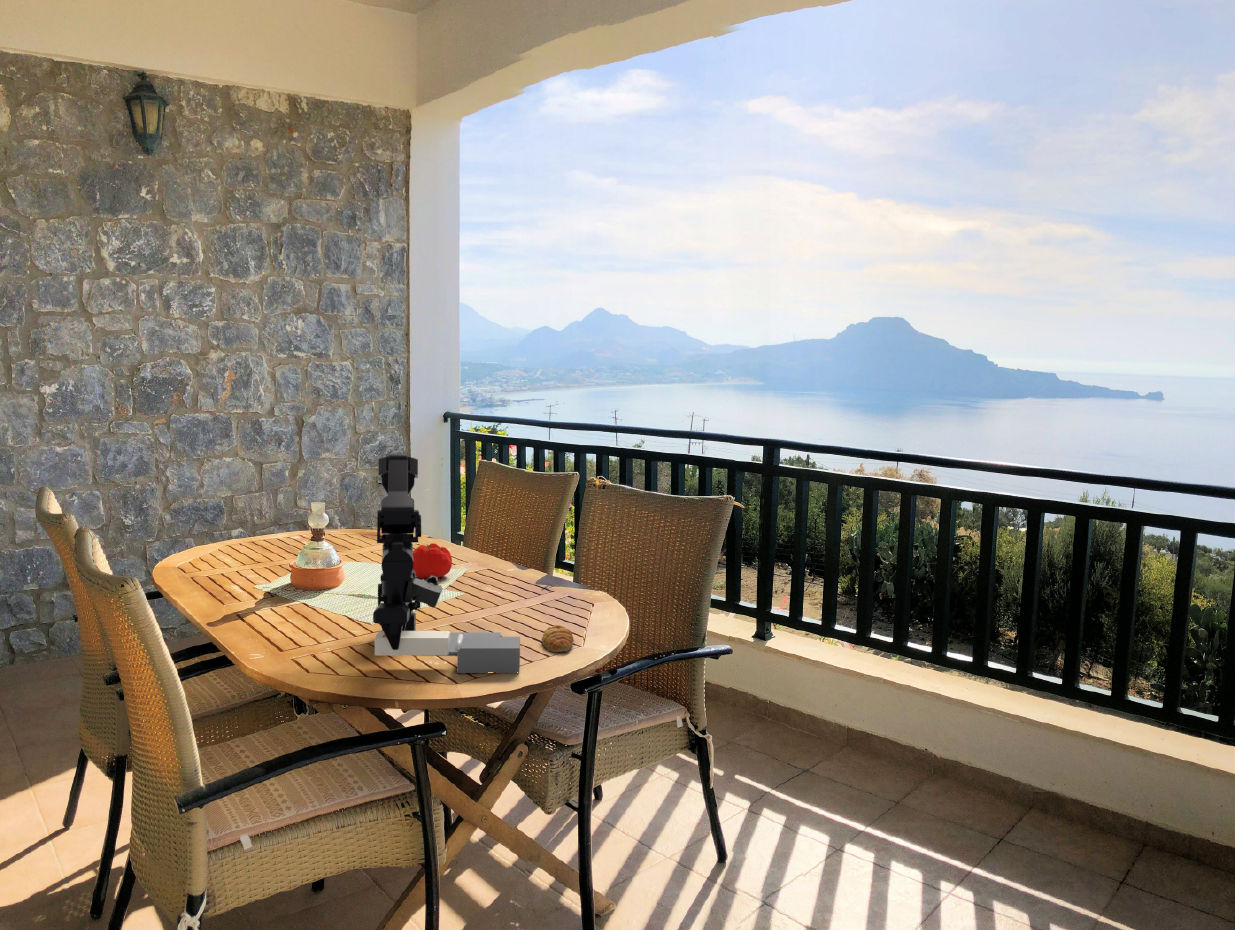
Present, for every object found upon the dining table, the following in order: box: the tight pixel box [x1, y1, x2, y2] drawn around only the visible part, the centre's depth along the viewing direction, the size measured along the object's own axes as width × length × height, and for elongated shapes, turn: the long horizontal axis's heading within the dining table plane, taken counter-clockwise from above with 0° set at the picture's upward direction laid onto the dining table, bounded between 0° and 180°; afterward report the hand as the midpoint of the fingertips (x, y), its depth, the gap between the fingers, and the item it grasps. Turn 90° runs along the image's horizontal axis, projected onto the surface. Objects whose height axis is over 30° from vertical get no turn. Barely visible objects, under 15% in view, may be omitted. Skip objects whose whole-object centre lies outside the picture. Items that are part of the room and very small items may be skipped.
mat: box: [447, 631, 502, 656], centre depth 184 cm, size 17×13×1 cm
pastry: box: [541, 624, 575, 653], centre depth 185 cm, size 9×7×4 cm
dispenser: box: [455, 634, 521, 674], centre depth 171 cm, size 12×8×6 cm, turn 96°
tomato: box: [413, 543, 453, 580], centre depth 241 cm, size 11×12×9 cm
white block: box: [374, 630, 451, 656], centre depth 169 cm, size 14×4×4 cm, turn 95°
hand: (397, 645), depth 169 cm, fingers closed on white block, 4 cm apart
